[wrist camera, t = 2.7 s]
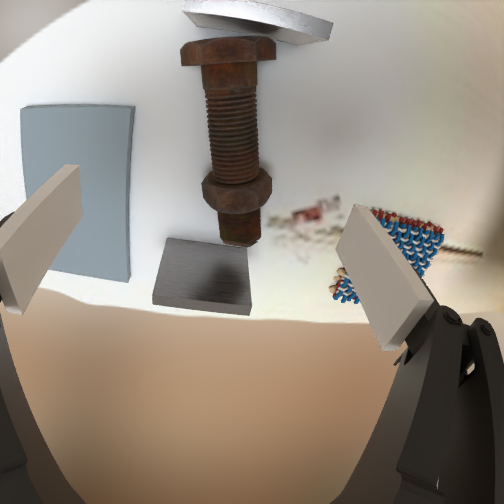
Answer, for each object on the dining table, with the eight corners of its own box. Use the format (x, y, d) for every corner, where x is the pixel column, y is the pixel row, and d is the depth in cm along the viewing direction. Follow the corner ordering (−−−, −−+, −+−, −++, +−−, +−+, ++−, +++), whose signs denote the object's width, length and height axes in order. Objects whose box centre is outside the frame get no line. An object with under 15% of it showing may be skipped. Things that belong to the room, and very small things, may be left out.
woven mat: (442, 223, 27) (452, 233, 26) (399, 297, 33) (406, 309, 32) (364, 201, 25) (372, 212, 24) (324, 289, 31) (328, 303, 30)
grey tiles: (301, 33, 17) (333, 23, 11) (244, 257, 28) (249, 315, 22) (200, 13, 15) (187, -7, 10) (166, 247, 26) (152, 304, 21)
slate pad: (134, 106, 19) (130, 108, 18) (130, 276, 28) (128, 282, 27) (27, 106, 17) (20, 109, 16) (44, 261, 26) (40, 267, 25)
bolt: (230, 214, 27) (217, 41, 18) (284, 226, 25) (283, 37, 16) (193, 252, 23) (163, 45, 14) (253, 269, 21) (241, 34, 12)
